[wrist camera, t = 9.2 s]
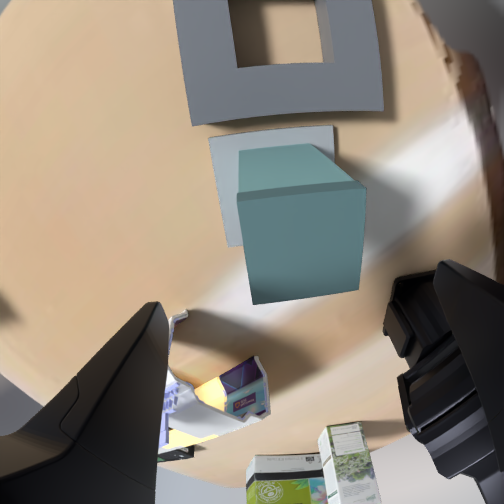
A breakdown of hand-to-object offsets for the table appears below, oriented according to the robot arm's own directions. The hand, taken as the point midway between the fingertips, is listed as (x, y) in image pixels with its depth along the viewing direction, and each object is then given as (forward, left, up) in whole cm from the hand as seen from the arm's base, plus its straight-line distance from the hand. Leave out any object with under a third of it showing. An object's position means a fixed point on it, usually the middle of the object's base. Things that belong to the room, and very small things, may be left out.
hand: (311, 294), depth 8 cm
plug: (0, 0, -10) cm, 10 cm away
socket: (-1, -9, -10) cm, 14 cm away
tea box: (+1, +51, -10) cm, 52 cm away
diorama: (+15, +20, -11) cm, 27 cm away
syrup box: (-7, +38, -10) cm, 40 cm away
